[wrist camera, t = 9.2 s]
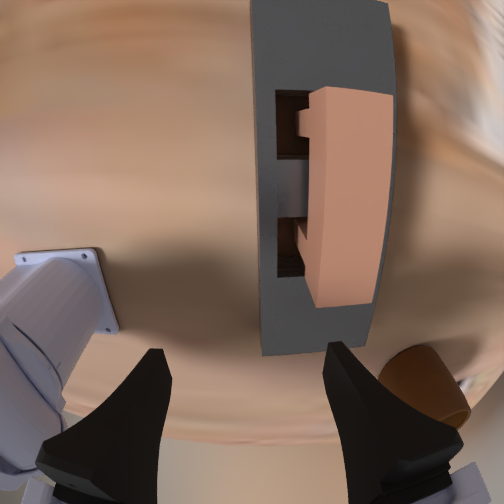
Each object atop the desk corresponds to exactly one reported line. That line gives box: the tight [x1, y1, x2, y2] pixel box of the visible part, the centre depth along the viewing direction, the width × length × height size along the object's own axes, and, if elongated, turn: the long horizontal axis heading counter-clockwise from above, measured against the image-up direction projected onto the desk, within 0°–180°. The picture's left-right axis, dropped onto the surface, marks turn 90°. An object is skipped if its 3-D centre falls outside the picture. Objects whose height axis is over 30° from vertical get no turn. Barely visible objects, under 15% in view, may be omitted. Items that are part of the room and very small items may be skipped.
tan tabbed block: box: [294, 86, 393, 308], centre depth 15 cm, size 3×10×7 cm, turn 2°
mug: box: [378, 346, 471, 430], centre depth 23 cm, size 12×8×9 cm, turn 1°
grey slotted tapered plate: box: [250, 0, 397, 356], centre depth 17 cm, size 8×24×3 cm, turn 2°
